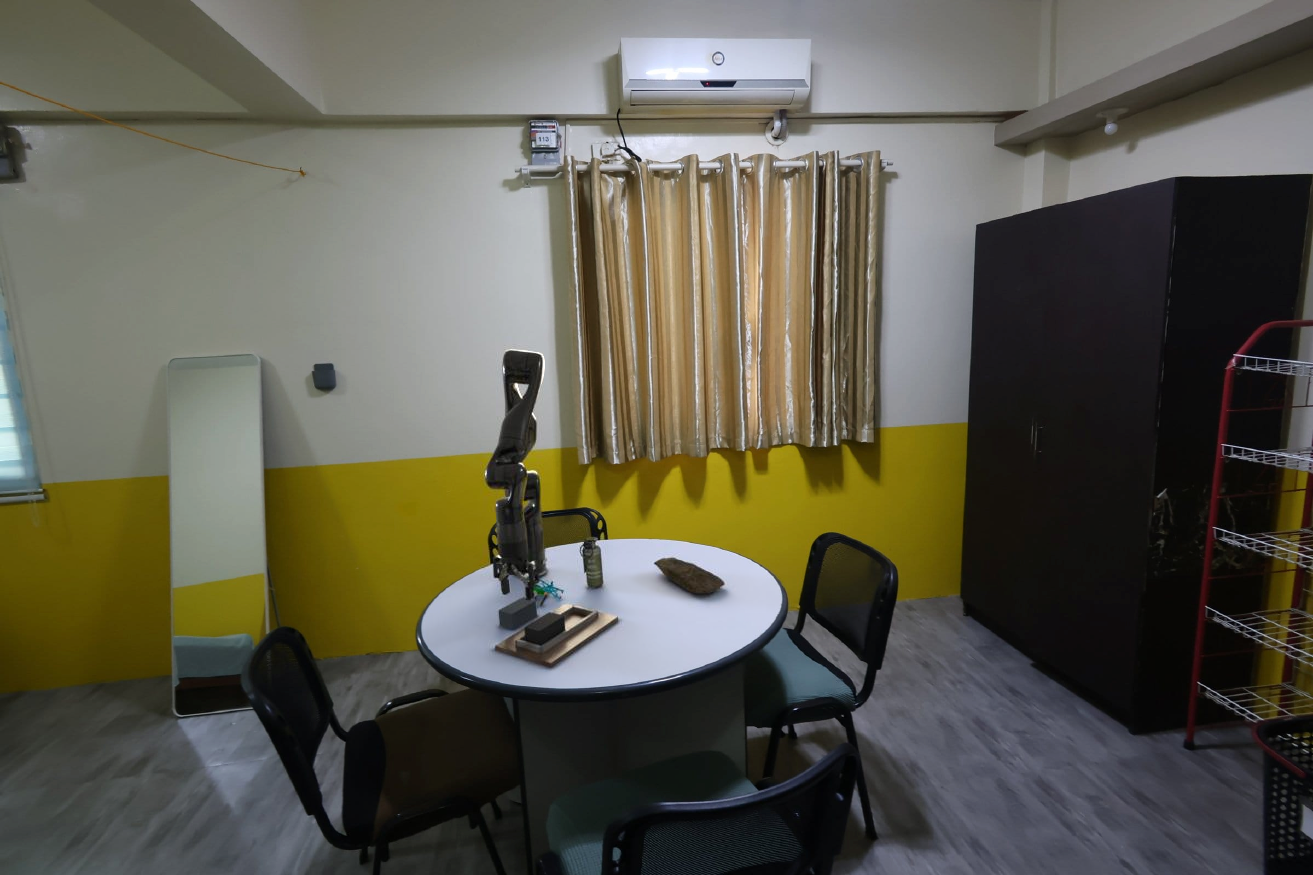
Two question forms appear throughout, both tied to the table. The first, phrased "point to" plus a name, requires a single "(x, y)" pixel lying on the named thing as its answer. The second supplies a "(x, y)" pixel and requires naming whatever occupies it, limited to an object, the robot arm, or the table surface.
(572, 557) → the table surface
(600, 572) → the grenade
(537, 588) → the stick construction toy
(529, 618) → the pad
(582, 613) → the mount board
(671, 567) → the stone
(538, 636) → the pad
